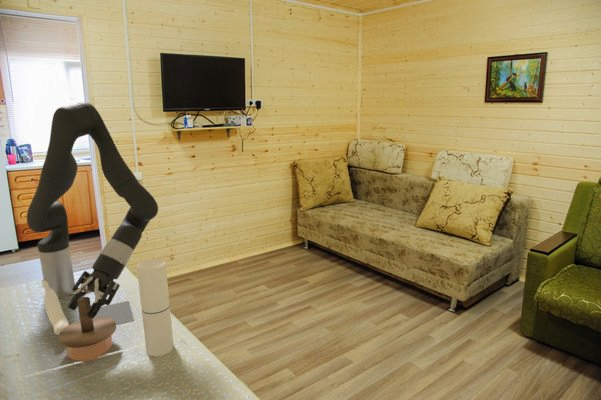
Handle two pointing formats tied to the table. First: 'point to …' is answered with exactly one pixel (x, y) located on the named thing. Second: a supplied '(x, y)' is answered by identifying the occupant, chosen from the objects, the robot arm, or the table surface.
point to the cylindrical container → (155, 306)
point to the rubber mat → (117, 312)
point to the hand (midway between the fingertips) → (80, 313)
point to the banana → (54, 309)
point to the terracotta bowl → (89, 351)
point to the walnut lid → (86, 328)
